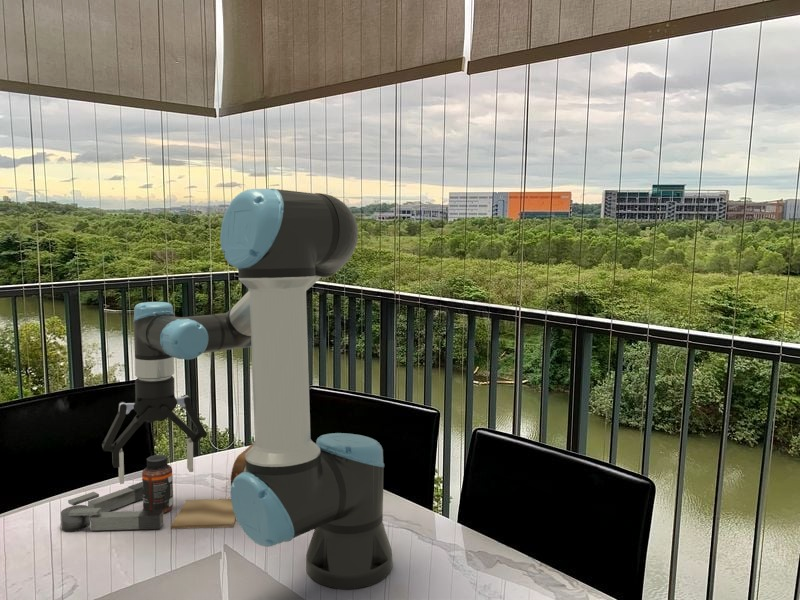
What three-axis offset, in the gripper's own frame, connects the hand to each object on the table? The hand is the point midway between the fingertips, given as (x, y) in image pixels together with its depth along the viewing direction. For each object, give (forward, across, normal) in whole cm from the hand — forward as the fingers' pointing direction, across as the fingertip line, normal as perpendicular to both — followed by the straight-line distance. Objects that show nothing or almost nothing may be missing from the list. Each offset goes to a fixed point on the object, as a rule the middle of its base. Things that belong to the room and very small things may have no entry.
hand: (156, 475), depth 127 cm
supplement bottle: (+8, 0, 0) cm, 8 cm away
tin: (+8, -21, -3) cm, 22 cm away
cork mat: (+7, -9, +8) cm, 14 cm away
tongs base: (+7, +9, +4) cm, 12 cm away
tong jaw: (+7, +8, -5) cm, 12 cm away
